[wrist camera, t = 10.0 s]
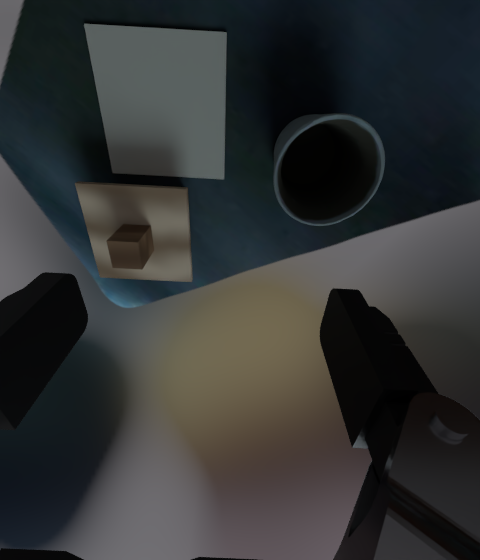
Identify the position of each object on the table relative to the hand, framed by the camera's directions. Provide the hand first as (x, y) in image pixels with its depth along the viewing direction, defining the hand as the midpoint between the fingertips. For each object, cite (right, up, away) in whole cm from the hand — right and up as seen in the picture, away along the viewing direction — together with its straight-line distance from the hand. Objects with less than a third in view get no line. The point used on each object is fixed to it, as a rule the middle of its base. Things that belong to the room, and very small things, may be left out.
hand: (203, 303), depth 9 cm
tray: (-8, +21, +25) cm, 34 cm away
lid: (-12, +7, +28) cm, 31 cm away
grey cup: (+10, +17, +27) cm, 34 cm away
